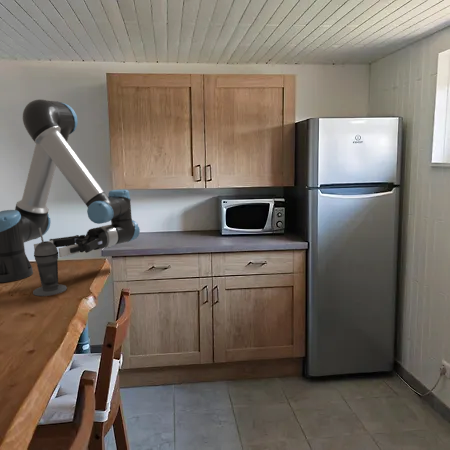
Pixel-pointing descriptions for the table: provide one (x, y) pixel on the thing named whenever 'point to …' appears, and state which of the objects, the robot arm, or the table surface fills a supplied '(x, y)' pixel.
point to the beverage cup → (47, 264)
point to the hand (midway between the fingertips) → (46, 250)
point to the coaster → (40, 291)
